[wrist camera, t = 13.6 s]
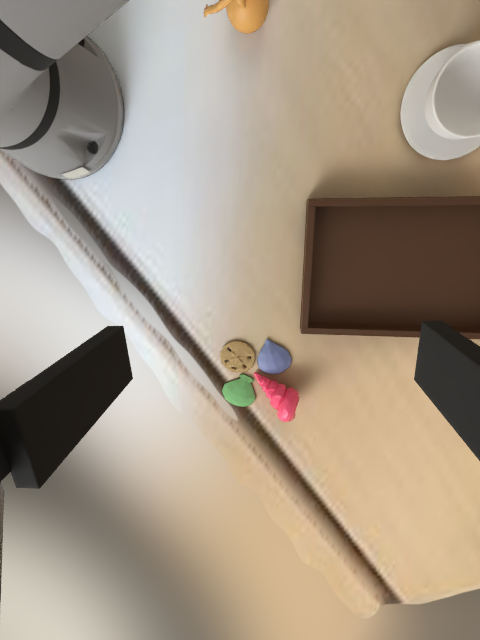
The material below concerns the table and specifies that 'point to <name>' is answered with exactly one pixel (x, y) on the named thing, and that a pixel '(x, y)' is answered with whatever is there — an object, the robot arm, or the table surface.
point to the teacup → (444, 104)
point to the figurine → (242, 13)
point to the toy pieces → (259, 377)
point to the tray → (391, 265)
